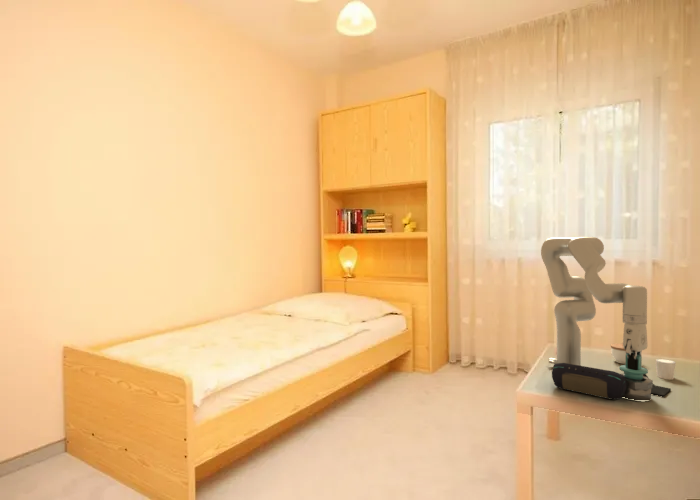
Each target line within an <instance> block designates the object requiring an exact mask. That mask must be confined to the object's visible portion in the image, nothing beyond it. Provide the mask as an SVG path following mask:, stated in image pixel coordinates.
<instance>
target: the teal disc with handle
mask: <svg viewBox="0 0 700 500" xmlns="http://www.w3.org/2000/svg"><path fill="white" fill-rule="evenodd" d="M637 359H638V370H632V369H628V358H627V354H626V364H623V365H619V370H620V371H621V372H623V374H624V376H625V377H626V378H630V379H636V380H641V379H643V374H646V375H647V374H648V373H649V369H647V368H645V367H642V360H643V359H642V355H641V356H640V355H637Z"/></svg>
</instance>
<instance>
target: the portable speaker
mask: <svg viewBox="0 0 700 500" xmlns="http://www.w3.org/2000/svg"><path fill="white" fill-rule="evenodd" d="M622 374H623V373H619V372H617V371H614V370H613V371H612V370H607V369H602V368H595V367H591V366H590V367H589V366H585V365H584V366H583V365H581V366H579V365H573V364H567V363H557V364H553V366H552V370H551V378H552V381H553V383H554V385H555V386H556V387H557V388H558V389H561V388H562V389H561V390H566V389H568V390H567V391H570V390H573V391H572V392H575V391H577V392H576V393H580V392H582V393H581V394H585V393H587V394H586V395H590V394H592V395H591V396H594V395H596V396H595V397H599V396H601V397H600V398H604V397H606V399H609V398H610V399H611V400H620V399H623V398H622V396H623V395H624V393H625V392H626V386H627V384H626V378H625V376H623V375H622Z"/></svg>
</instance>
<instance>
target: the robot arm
mask: <svg viewBox="0 0 700 500" xmlns="http://www.w3.org/2000/svg"><path fill="white" fill-rule="evenodd" d="M604 249H605V245H604V243H603V242H602V240H601V239H599V238H598V237H594V236H579V237H575V236H574V237H562V236H561V237H559V236H558V237H556V236H555V237H550V238H547V239H546V240H545V241H544V242H543V243H542V245H541V248H540V256H541V260H542V262H543V264H544V267H545V269H546V271H547V275H548V279H549V283H550V286H551V290H552V293H553V295H554V296H555V297H557V298H561V299H563V300H562V301H561V300H560V301H559V302H557V303H556V304H555V306H554V311H553V312H554V317H555V322H556V323H555V324H556V358H553V357H549V358H548V363H549V364H552V365H554V364H557V363H567V364H573V365H579V366H582V363H581V362H582V356H581V355H582V346H581V345H582V334H581V333H582V331H581V329H580V327H579V324H578V323H577V322H588V321H591V320H593V319H594V318H595V316H596V314H597V308H596V304H595V301H594V299H595V300H597V301H598V302H599V303H601V304H622V323H623V324H624V326H623V337H622V338H623V339H622V344H623V347H624V349H625V350H626V354H627V358H628V369H632V370H638V359H637V355H640V356H642V351H645V350H646V349H647V348H648V330H647V324H648V289H647V288H646V287H645V286H643V285H642V286H641V285H632V284H628V283H624V282H623V283H621V282H620V283H605V282H604V280H602V278H601V277H600V275H599V273H600V272H601V271H602V270H603V269H604V268H605V266H606V264H607V263H606V259H604V257H603V256H602V254H603V253H604ZM561 257H573V258H574V259H575V261H576V262H577V263H578V264H579V266H580V267H581V268H582V270H583V271H584V277H582V276H578V275H577V276H573V275H572V276H571V275H570V273H569V269H568V266H567V264H566V262H564V260H563V259H562V258H561ZM593 297H594V298H593ZM566 298H568V299H566ZM569 298H573V299H569ZM564 299H565V300H564ZM631 349H632V350H631Z"/></svg>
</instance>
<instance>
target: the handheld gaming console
mask: <svg viewBox="0 0 700 500" xmlns="http://www.w3.org/2000/svg"><path fill="white" fill-rule="evenodd" d="M643 376H645V377H647V378H649V376H648V375H647V374H643ZM669 393H671V388H669V387H665V386H661V385H660V386H659V385H655V384H654V383H653V388H651V394H653V395H652V396H655V395H658V396H657V397H660V396H662V397H661V398H665V397H666V396H667V395H668V394H669Z"/></svg>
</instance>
